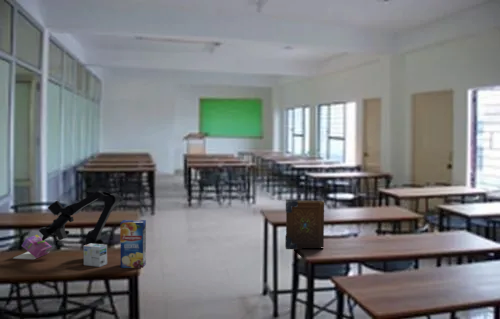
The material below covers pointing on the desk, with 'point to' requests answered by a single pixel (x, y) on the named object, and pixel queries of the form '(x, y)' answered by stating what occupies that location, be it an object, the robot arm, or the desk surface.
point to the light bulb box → (95, 255)
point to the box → (36, 246)
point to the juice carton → (133, 243)
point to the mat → (25, 256)
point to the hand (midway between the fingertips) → (42, 239)
